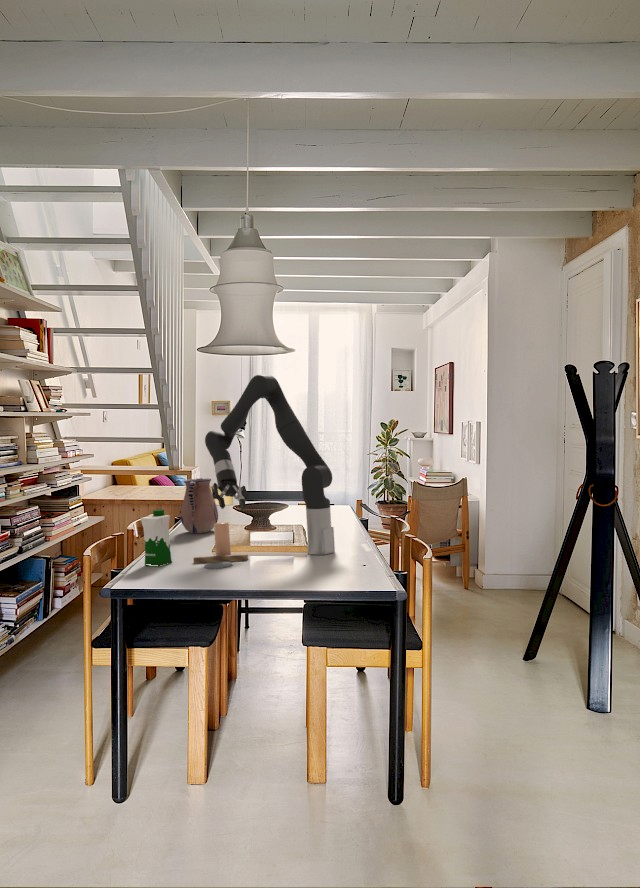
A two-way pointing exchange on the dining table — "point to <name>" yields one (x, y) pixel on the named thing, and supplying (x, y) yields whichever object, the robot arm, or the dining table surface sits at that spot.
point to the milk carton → (157, 538)
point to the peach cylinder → (222, 538)
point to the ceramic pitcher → (198, 506)
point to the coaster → (218, 565)
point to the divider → (220, 558)
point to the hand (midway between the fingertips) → (233, 508)
